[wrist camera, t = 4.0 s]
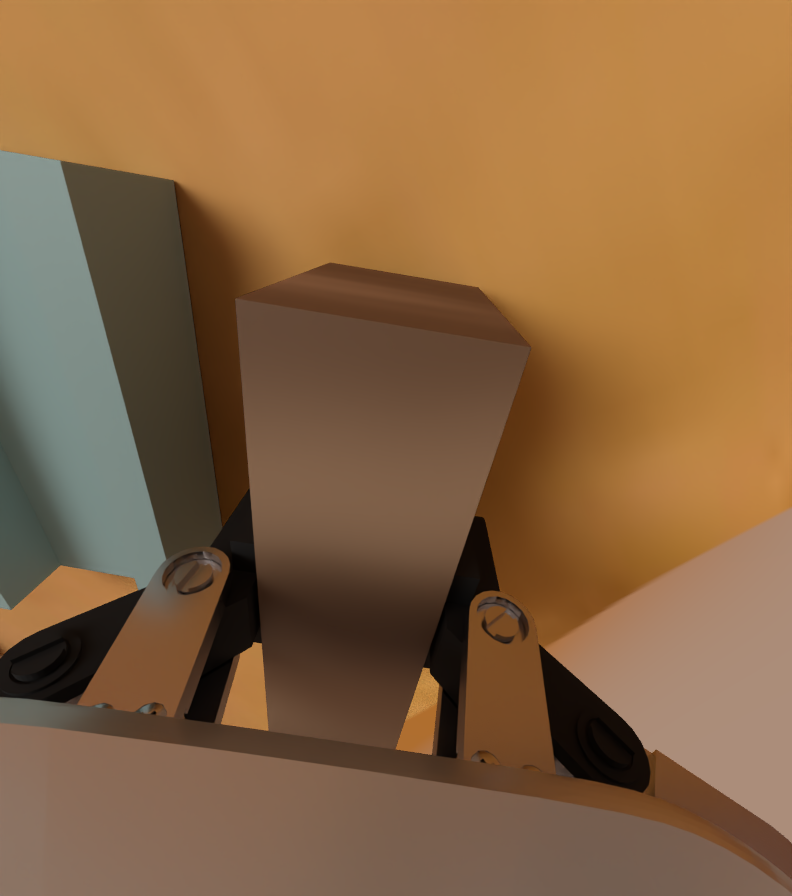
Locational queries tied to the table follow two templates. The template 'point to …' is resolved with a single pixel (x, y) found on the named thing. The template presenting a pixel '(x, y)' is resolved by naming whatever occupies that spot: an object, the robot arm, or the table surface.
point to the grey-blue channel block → (96, 378)
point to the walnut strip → (364, 480)
